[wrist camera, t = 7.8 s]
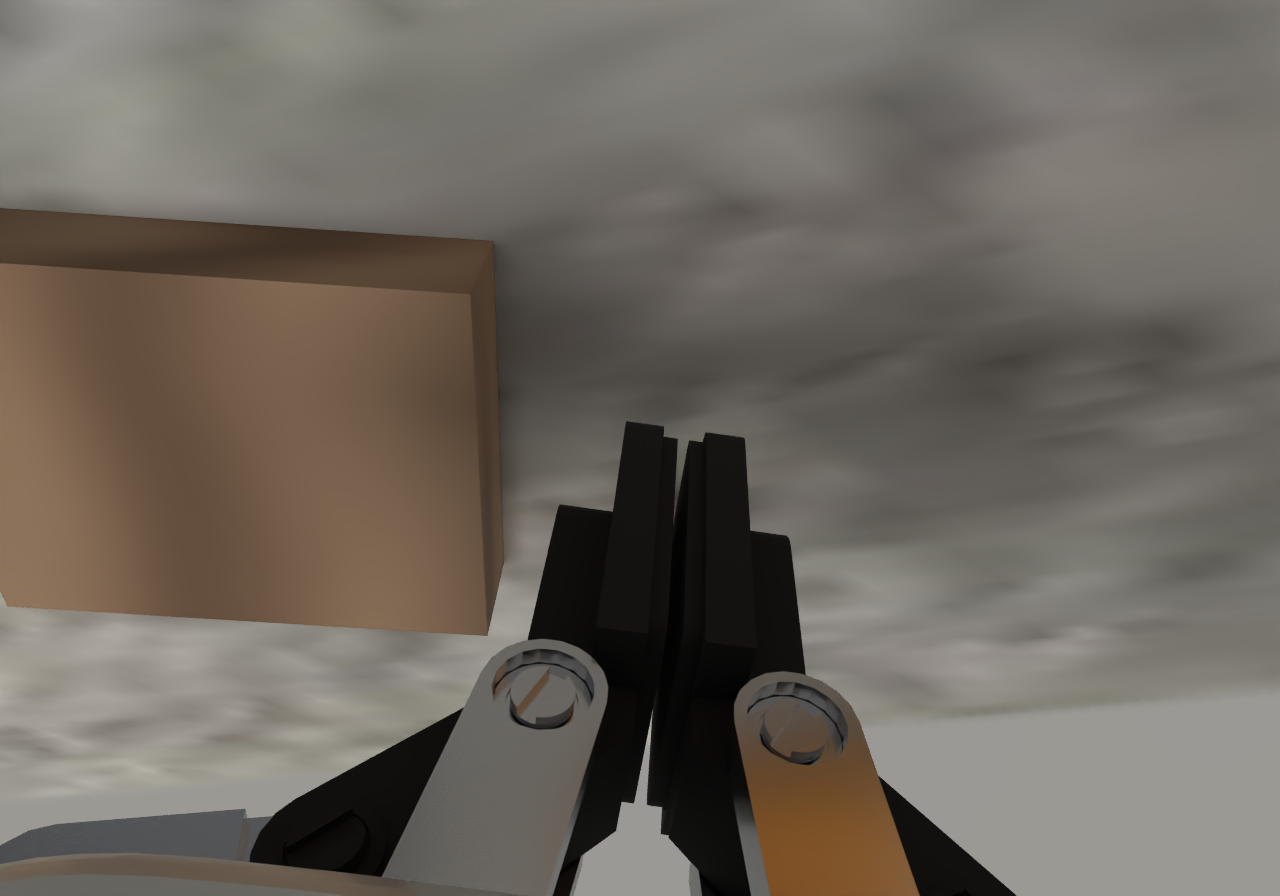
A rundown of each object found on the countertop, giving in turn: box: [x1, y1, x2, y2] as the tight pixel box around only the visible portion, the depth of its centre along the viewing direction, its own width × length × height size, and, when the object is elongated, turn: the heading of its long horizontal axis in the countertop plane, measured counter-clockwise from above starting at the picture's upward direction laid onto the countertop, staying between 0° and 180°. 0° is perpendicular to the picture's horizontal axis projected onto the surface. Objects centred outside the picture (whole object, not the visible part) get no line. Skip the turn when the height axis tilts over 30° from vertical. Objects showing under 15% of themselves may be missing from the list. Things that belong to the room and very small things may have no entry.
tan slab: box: [0, 208, 504, 636], centre depth 16 cm, size 9×7×2 cm
